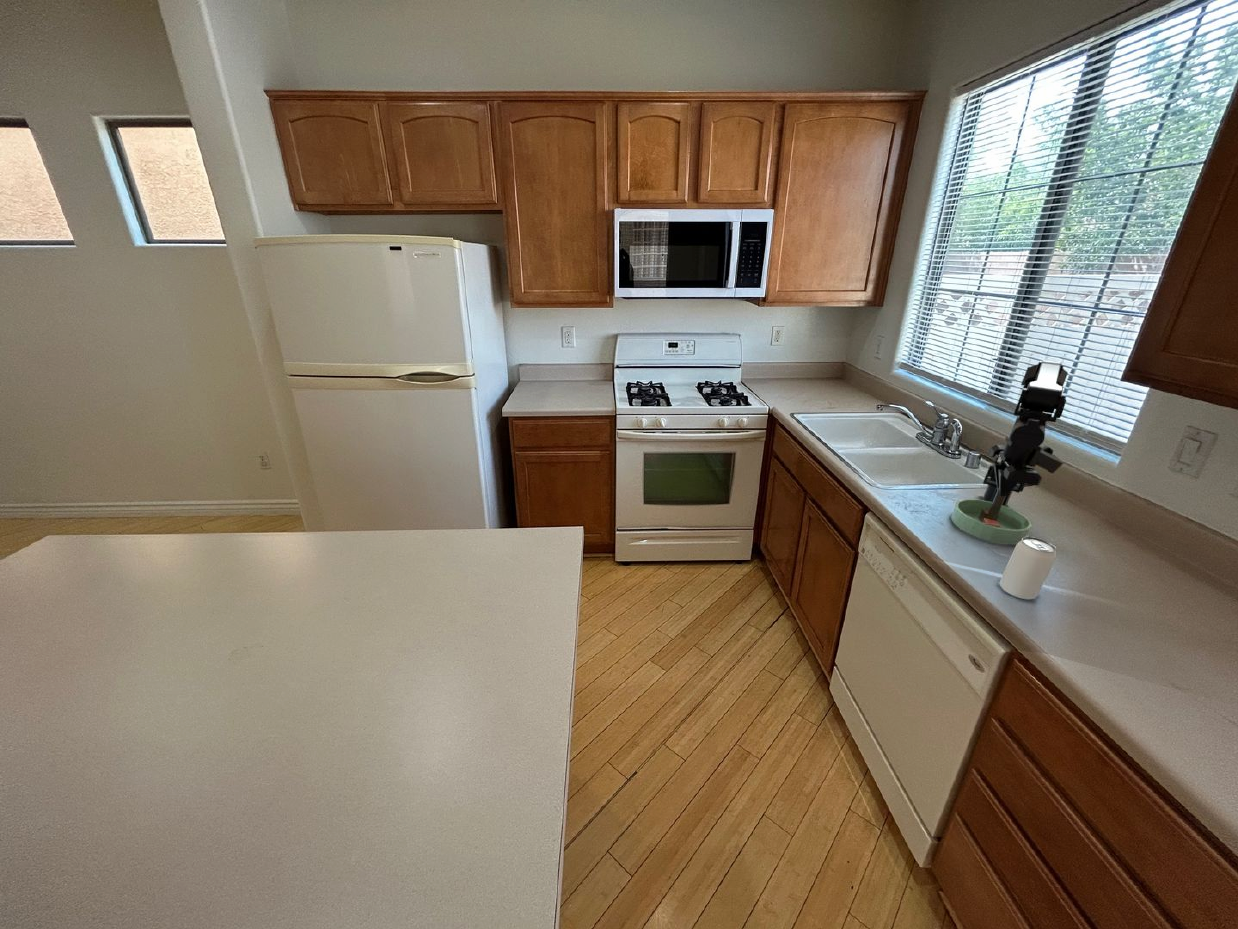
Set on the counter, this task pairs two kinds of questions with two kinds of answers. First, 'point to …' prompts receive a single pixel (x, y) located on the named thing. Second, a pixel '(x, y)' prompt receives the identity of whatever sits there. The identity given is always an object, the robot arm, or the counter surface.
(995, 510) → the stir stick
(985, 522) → the terracotta block
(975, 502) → the bowl
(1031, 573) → the can
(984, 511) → the walnut block
